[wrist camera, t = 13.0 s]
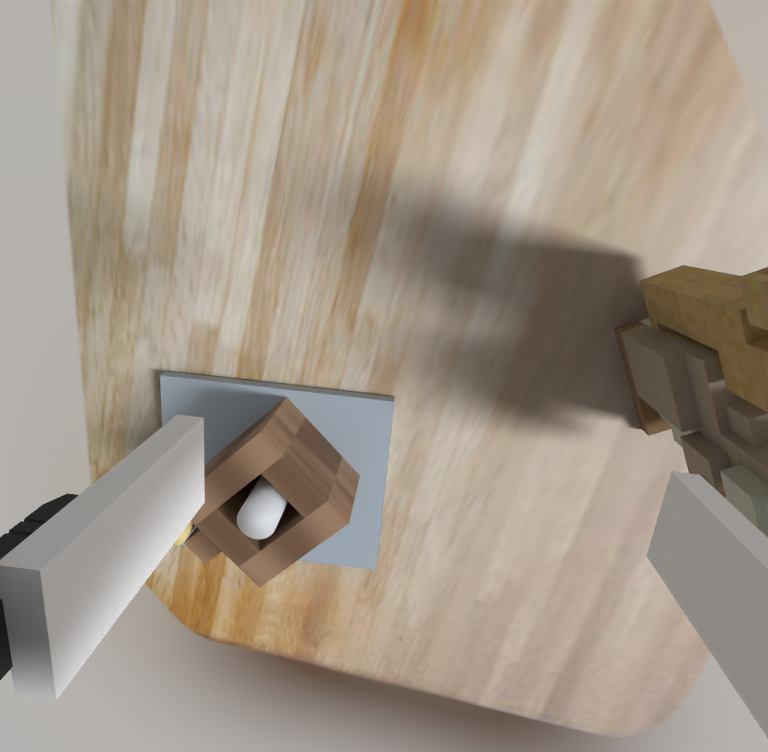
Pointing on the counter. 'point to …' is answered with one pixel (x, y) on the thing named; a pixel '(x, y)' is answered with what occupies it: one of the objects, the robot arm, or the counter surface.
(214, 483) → the tabbed square frame
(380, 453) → the post board
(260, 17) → the counter surface
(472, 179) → the counter surface
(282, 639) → the counter surface
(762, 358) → the toy
